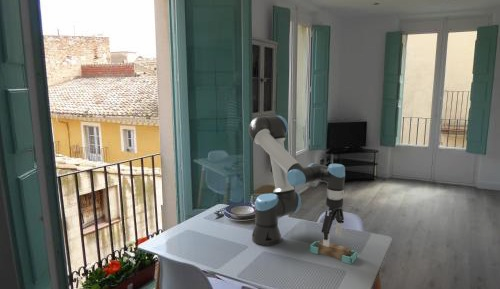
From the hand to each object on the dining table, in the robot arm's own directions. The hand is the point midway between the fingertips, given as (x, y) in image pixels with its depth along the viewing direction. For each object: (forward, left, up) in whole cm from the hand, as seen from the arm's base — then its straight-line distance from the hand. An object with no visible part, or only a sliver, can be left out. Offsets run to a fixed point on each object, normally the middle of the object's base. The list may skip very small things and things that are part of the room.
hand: (332, 240), depth 167 cm
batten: (+1, 0, -7) cm, 7 cm away
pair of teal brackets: (+1, 0, -7) cm, 7 cm away
